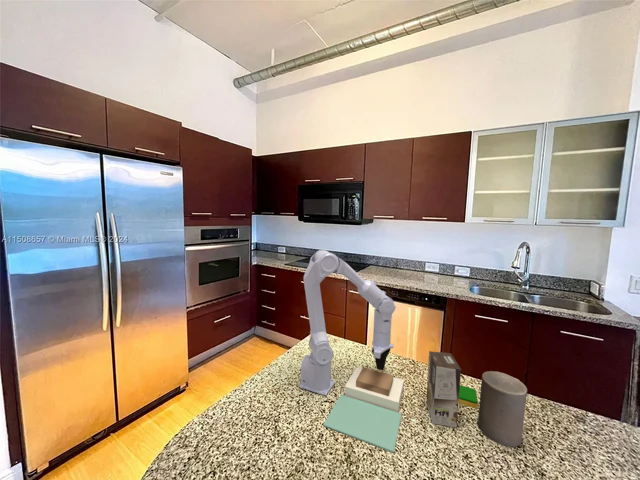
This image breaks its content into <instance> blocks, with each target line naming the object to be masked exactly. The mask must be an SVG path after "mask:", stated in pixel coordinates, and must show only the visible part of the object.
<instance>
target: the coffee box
mask: <svg viewBox="0 0 640 480" xmlns="http://www.w3.org/2000/svg"><path fill="white" fill-rule="evenodd" d="M427 365H428V366H427V384H426V386H427V387H426V406H427V409H428V412H429V415H430V418H431V419H430V420H431V422H432V424H434V425H441V426H444V427H445V426H446V427H452V428H457V427H458V418H459V417H458V415H459V390H460V385H461V376H462V375H461V373H462V369H461V367H460V365H459V363H458V362H457V361H456V359H455V357H454V356H453V354H452V353H449V352H441V351H428V364H427Z"/></svg>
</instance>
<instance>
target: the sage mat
mask: <svg viewBox="0 0 640 480" xmlns="http://www.w3.org/2000/svg"><path fill="white" fill-rule="evenodd" d="M402 414H403V413H401V412H399V411H398V412H395V411H392V410H388V409H385V408H382V407H379V406H376V405H373V404H369V403H366V402H363V401H360V400H357V399H354V398H350V397H347V396H345V394H344V395H343V394H340V395H339V397H338V399H337V401H336V402H335V404H334V406H333V407H332V409H331V412H329V414H328V416H327V418H326V420H325V421H324V423H323V426H322V427H325V428H327V429H330V430H333V431H335V432H337V433H340V434H343V435H345V436H348V437H350V438H353V439H356V440H359V441H361V442H364V443H366V444H369V445H372V446H374V447H377V448H380V449H382V450H385V451H387V452H390V453H393V454H395V449H396V448H395V447H396V443H397V438H398V433H399V428H400V425H401V419H402Z"/></svg>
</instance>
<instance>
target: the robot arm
mask: <svg viewBox="0 0 640 480" xmlns="http://www.w3.org/2000/svg"><path fill="white" fill-rule="evenodd" d="M333 273H335V274H340V275H343V276H344V277H345V278H346V279H347V280H349V281H350V282H351V283H352V284H353V285H355V287H357V293H358V294H359V295H360V296H361V297H362V298H364V300H366V301H367V302H368V303H369V304H370V306H372V308H374V313H373V314H374V316H373V334H372V342H371V343H372V348H371V354H372V355H373V358H374V362H375V364H376V365H375V366H376V370H379V371H384V369H385V365H386V361H387V358H388V356H389V355H390V352H391V349H394V347H395V345H394V343H391V335H392V334H391V333H392V319H393V314H394V312H395V311H396V309H397V308H396V305H395V302H394V300H393V299H392V298H391V297H389V296H387V295H386V294H387V292H386V291H384V290H381V289H380V288H379V287H378V286H377V282H375V281H374V280H372V281H371V280H370V279H364V278H362V277H361V276H360V275H359V273H358V272H356V271H355V270H354V269H353V268H352V266H350V265H349V264H348V263H347V262H346V261H344V260H343V259H341V258H340V257H338V256H337V255H336V254H334V253H333V252H329V251H328V250H327V249H319V250H317V251H316V252H315V253H314V254H313V255H312V256H311V257H310V260H309V263H308V265H307V268H306V270H305V272H304V274H303V285H304V291H305V292H304V293H305V300H306V306H307V313H308V314H307V315H308V322H309V326H310V327H309V328H310V331H309V335H310V337H309V339H308V346H309V349H310V351H311V352H310V354H306V355H304V357H303V359H302V361H301V365H300V384H299V388H300V389H303V390H307V391H310V392H313V393H316V394H318V395H322V396H327V395H328V394H329V392H330V391H331V389H332V387H333V386H334V384H335V383H336V381H335V380H334V379H331V378H332V377H331V376H332V360H333V358H334V350H333V349H332V347H331V346H330V341H329V337H328V333H327V330H326V322H325V315H324V308H323V307H324V306H323V300H322V298H323V297H322V291H321V283H322V281H324V280H325V278H326V277H328V276H330V275H331V274H333Z"/></svg>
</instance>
